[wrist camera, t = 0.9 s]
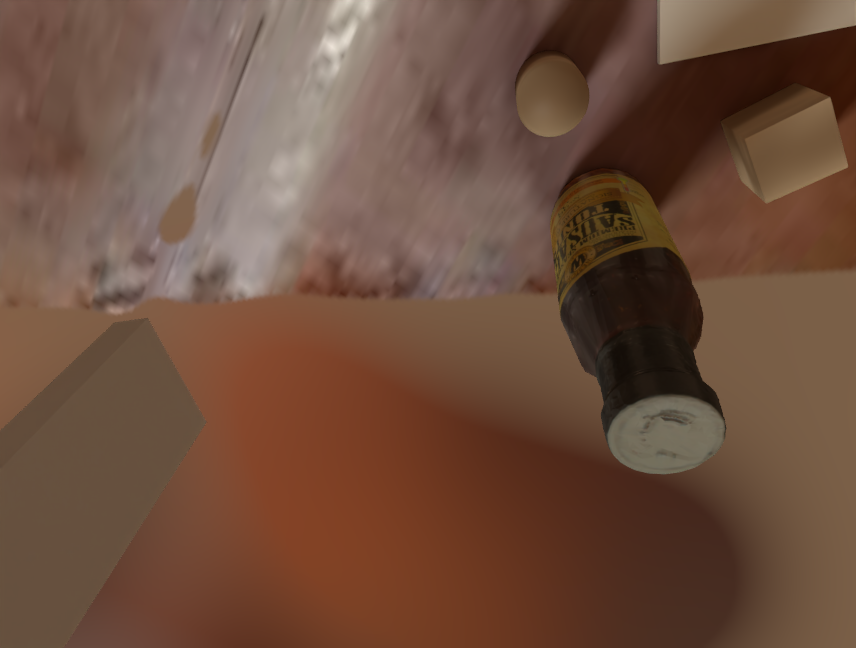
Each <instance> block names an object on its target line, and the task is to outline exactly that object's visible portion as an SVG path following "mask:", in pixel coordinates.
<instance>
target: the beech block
mask: <svg viewBox="0 0 856 648" xmlns="http://www.w3.org/2000/svg"><path fill="white" fill-rule="evenodd" d="M720 123H721V125H722V128H723V131H724V134H725V137H726V140H727V142H728V145H729V148H730V151H731V154H732V157H733V159H734V162H735V165H736V168H737V171H738V174H739V177H740V179H741V181H742V182H743V183H744V184H745V185H747V186H748V187H749V188H750V189H751V190H752V191H753V192H754V193H755V194H756V195H758V196H759V197H760V198H761V199H762V200H763V201H764V202H765V203H769V202H771V201H773V200H775V199H778V198H780V197H782V196H784V195H787V194H789V193H791V192H793V191H796V190H798V189H800V188H802V187H805V186H807V185H809V184H811V183H814V182H816V181H818V180H820V179H823V178H825V177H827V176H829V175H831V174H834V173H836V172H838V171H840V170H843V169H845V168H847V167H848V164H847V160H846V156H845V152H844V148H843V144H842V141H841V137H840V133H839V129H838V125H837V121H836V117H835V113H834V109H833V105H832V101H831V98H830V97H829V96H827V95H824V94H822V93H820V92H817V91H815V90H812V89H810V88H807V87H805V86H802V85H800V84H798V83H794V84H792V85H790V86H788V87H786V88H784V89H782V90H780V91H778V92H776V93H774V94H772V95H770V96H768V97H766V98H764V99H762V100H760V101H758V102H756V103H755V104H753V105H751V106H749V107H747V108H745V109H743V110H741V111H739V112H737V113H735V114H733V115H731V116H729V117H727V118H725V119H723V120H721V121H720Z"/></svg>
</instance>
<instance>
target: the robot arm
mask: <svg viewBox="0 0 856 648" xmlns="http://www.w3.org/2000/svg"><path fill="white" fill-rule="evenodd" d="M205 424H206V420H205V419H204V417H203V415H202V413H201V411H200V410H199V408H198V406H197V405H196V403H195V401H194V399H193V397H192V396H191V394H190V392H189V390H188V388H187V387H186V385H185V383H184V381H183V380H182V378H181V376H180V374H179V372H178V371H177V369H176V368H175V365H174V364H173V362H172V360H171V358H170V357H169V355H168V353H167V351H166V350H165V348H164V346H163V344H162V342H161V341H160V339H159V337H158V335H157V333H156V332H155V330H154V328H153V326H152V325H151V323H150V321H149V319H148V318H144V319H138V320H130V321H123V322H115V323H113V324H112V325H111V326H110V327H109V328H108V329H107V330H106V331H105V332H104V333H103V334H102V335H101V336H100V337H99V338H98V339H96V340H95V341H94V342H93V343H92V344H91V345H90V346H89V347H88V348H87V349H86V350H85V351H84V352H83V353H82V354H81V355H80V356H79V357H77V358H76V360H74V361H73V362H72V363H71V364H70V365H69V366H68V367H67V368H66V369H65V370H64V371H63V372H62V373H61V374H60V375H58V377H56V378H55V379H54V380H53V381H52V382H51V383H50V384H49V385H48V386H47V387H46V388H45V389H44V390H43V391H42V392H41V393H40V394H39V395H37V396H36V397H35V398H34V399H33V400H32V401H31V402H30V403H29V404H28V405H27V406H26V407H25V408H24V409H23V410H22V411H20V412H19V413H18V414H17V415H16V416H15V417H14V418H13V419H12V420H11V421H10V422H9V423H8V424H7V425H6V426H5V427H4V428H3V429H1V431H0V648H64V646H65V645H66V643H67V642H68V640H69V638H70V637H71V635H72V633H73V632H74V631H75V629H76V628H77V626H78V624H79V623H80V621H81V620H82V618H83V617H84V615H85V613H86V612H87V610H88V609H89V607H90V605H91V604H92V602H93V601H94V599H95V598H96V596H97V594H98V593H99V591H100V590H101V588H102V586H103V585H104V583H105V582H106V580H107V579H108V577H109V575H110V574H111V572H112V571H113V569H114V568H115V566H116V564H117V563H118V561H119V560H120V558H121V556H122V555H123V553H124V551H125V550H126V548H127V547H128V545H129V544H130V542H131V541H132V539H133V537H134V536H135V534H136V533H137V531H138V530H139V528H140V526H141V525H142V523H143V522H144V520H145V518H146V517H147V515H148V514H149V512H150V511H151V509H152V507H153V506H154V504H155V503H156V501H157V500H158V498H159V496H160V495H161V493H162V491H163V490H164V488H165V487H166V485H167V484H168V482H169V481H170V479H171V477H172V476H173V474H174V473H175V471H176V470H177V468H178V466H179V465H180V463H181V462H182V460H183V458H184V457H185V455H186V454H187V452H188V451H189V449H190V447H191V446H192V444H193V443H194V441H195V439H196V438H197V436H198V435H199V433H200V431H201V430H202V428H203V427H204V425H205Z"/></svg>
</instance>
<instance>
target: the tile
mask: <svg viewBox="0 0 856 648" xmlns="http://www.w3.org/2000/svg"><path fill="white" fill-rule="evenodd" d="M855 25H856V0H657V63H658V64H660V65H661V64H666V63H671V62H676V61H680V60H685V59H690V58H695V57H700V56H705V55H710V54H715V53H720V52H725V51H730V50H735V49H740V48H745V47H750V46H755V45H760V44H765V43H770V42H775V41H780V40H785V39H790V38H795V37H800V36H805V35H810V34H815V33H820V32H825V31H830V30H835V29H840V28H845V27H850V26H855Z"/></svg>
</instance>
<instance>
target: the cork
mask: <svg viewBox="0 0 856 648" xmlns="http://www.w3.org/2000/svg"><path fill="white" fill-rule="evenodd" d="M515 93H516V102H517V109H518V114H519V117H520V119H521V121H522V122H523V124H524V125H525V126H526V127H527V128H528V129H529V130H530V131H531V132H533V133H535V134H537V135H540V136H545V137H555V136H559V135H562V134H565V133H567V132H569V131H570V130H572V129H573V128H574V127H575V126H576V125H577V124H578V123H579V122H580V121H581V120H582V118H583V116H584V115H585V113H586V110H587V107H588V103H589V88H588V85H587V82H586V80H585V78H584V76H583V75H582V73H581V72H580V71H579V69H578V68H577V67H576V65H575V64H574V63H573V61H572V60H571V59H570V58H569V57H568V56H566V55H565V54H563V53H561V52H558V51H552V50H550V51H542V52H539V53H537V54H535V55H533V56H531V57H530V58H529V59H528V60H527V61H526V62H525V63H524V64H523V65H522V67H521V68H520V70H519V72H518V74H517V77H516V82H515Z"/></svg>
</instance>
